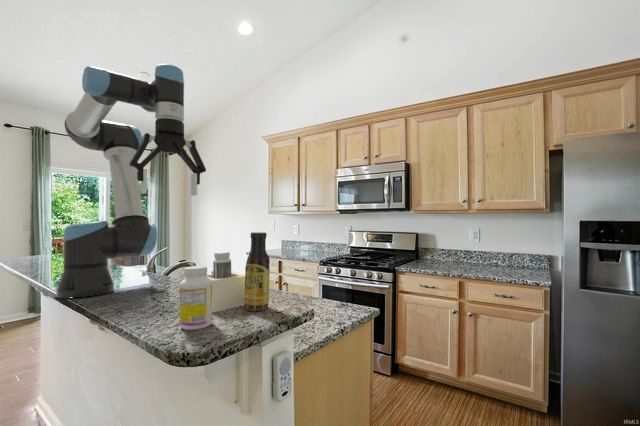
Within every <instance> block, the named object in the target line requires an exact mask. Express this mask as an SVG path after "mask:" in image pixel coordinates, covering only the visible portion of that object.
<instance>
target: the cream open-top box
mask: <svg viewBox="0 0 640 426" xmlns="http://www.w3.org/2000/svg"><path fill="white" fill-rule="evenodd" d="M206 277H208V278H210V279H211V281H212V312H214V313H218V312H217V311H219V312H222V311H221V310H223V311H226V310H225V309H228V310H230V309H229V308H233V309H235V308H234V307H237V308H240V307H239V306H242V307H245V306H244V305H245V302H244V300H245V273H239V272H234V271H231V277H227V278H220V279H214V278H213V270H211V271H210V272H207V273H206Z"/></svg>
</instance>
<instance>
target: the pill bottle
mask: <svg viewBox="0 0 640 426" xmlns="http://www.w3.org/2000/svg"><path fill="white" fill-rule="evenodd" d="M230 253H231V252H230V251H217V252H214V256H213V257H214V259H213V261H212V266H213V267H212V269H213V270H212V271H213V278H214V279H220V278H227V277H231V272H232V259H231V258H230V257H231V256H230V255H231V254H230Z"/></svg>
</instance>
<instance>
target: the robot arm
mask: <svg viewBox="0 0 640 426" xmlns="http://www.w3.org/2000/svg"><path fill="white" fill-rule="evenodd" d="M154 69H155V71H154V73H153V75H154V80H152V81H148V80H147V81H146V80H143V79H140V78H135V77H132V76H129V75H127V74H126V75H125V74H122V73H118V72H114V71H111V70H107V69H105V68H102V67H96V66H92V65H88V66H85V68H84V70H83V74H82V78H81V84H82V85H81V87H82V90H83V92H84V94H83V96H82V97H81V99H80V101H79V103H78V104H77V106H76V108H75V109H74V110H73V111H72V112H69V114H67V116H66V118H65V120H64V130H65V132H66V134H67V135H68V137H69V138H70V139H71V140H72V141H73V142H74V143H75V144H77V145H79V146H80V147H83V148H85V149H87V150H91V151H100V152H103V157H104V159H106V160H107V161H109V168H110V179H111V186H112V194H113V202H114V203H113V204H114V210H115V217H114V218H113V219H112V220H111V224H109V222H108V220H97V221H88V222H81V223H80V222H78V223H74V224H73V223H72V224H68V225H67V226H65V228H64V230H63V231H64V232H63V239H62V242H63V273H62V275H61V277H60V280H59V283H58V285H57V288H56V298H58V299H71V298H70V297H73V298H72V299H75V298H74V297H83V298H88V297H87V296H91V297H93V296H92V295H97V296H101V295H100V294H102V295H106V294H109V293H112V292H113V291H115V283H114V280H113V277H112V276H111V275H112V274H111V273H110V270H109V262H108V261H109V259H123V258H124V259H126V258H135V257H136V258H139V257H143V256H149V255H151V253H153V251H154V250H155V247H156V245H157V239H158V229H157V226H156V225H155V224H154V223H151V222H150V220H149V217H148V216H147V215H145V214H144V211H143V205H142V198H141V197H142V196H141V194H142V195H146V194H148V169H147V168H145V167H146V166H147V165H148V164H149V163H150V162H152V160H153V159H154V158H155V157H156V156H157V155H158V154H159V153H160V152H162V153H163V154H171V155H178V156H179V157H180V158H181V160H182V161H183V162H184V163H185V165H186V166H188V168H189V169H190V170H191V172H192V173H190V195H191V197H193V196H197V195H198V185H200V183H201V178H200V177H201V174H202V173H206V171H207V168H206V166H205V164H204V162H203V160H202V158H201V156H200V153H199V152H198V149H197V147H196V146H197V144H196V141H195V140H193V139H192V140H186V139H185V123H184V121H185V107H184V105H185V101H184V100H185V99H184V98H185V82H184V81H185V80H184V72H183V70H182V69H181V68H179V67H178V66H176V65H173V64H169V63H161V64H157V65H156V67H155V68H154ZM117 102H121V103H126V104H131V105H135V106H139V107H141V108H142V109H143V110H144V111H146V112H148V113H154V114H155V116H154V117H155V119H156V120H155V122H154V123H155V126H154V128H155V129H154V130H155V131H154V133H155V134H154V135H151V134H150V133H148V132H146V133H145V134H143V135H142V132H141V131H140V129H139V128H138V127H137V126H134V125H130V124H128V123H120V122H114V121H109V120H104V119H105V118H106V117H107V116H108V114H109V113H110V111H112V109H113V107H114V106H115V104H116V103H117ZM152 141H153V142H154V144H155V145H156V147H155V148H154V149H153V150H152V151H151V152H150V153H149V154H148V155H147V156H146V157H145V158H143V160H142V161H141V162H140V163H139V161H140V159H141V157H142V155H143V154H144V152H145V150H146V149H147V147H148V145H149V144H150V143H152ZM185 146H186V148H188V150H189V153H190V155H191V157H190V155H189V154H188V153H187V151H186V149H185V148H184V147H185ZM139 182H140V183H141V186H140V185H139ZM140 188H141V189H140Z"/></svg>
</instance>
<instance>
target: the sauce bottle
mask: <svg viewBox="0 0 640 426" xmlns="http://www.w3.org/2000/svg"><path fill="white" fill-rule="evenodd" d="M266 240H267V232H265V231H264V232H262V231H260V232H259V231H253V232H252V231H251V232H250V250H249V254H248V256H247V259H246V263H245V267H244V268H245V269H244V271H245V272H244V275H245V300H244V302H245V306H244V309H245V310H247V311H250V312H262V311H265V310H267V309H268V308H269V302H270V263H271V261H270V260H271V259H270V256H269V255H268V253H267V249H266V248H267V247H266Z"/></svg>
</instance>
